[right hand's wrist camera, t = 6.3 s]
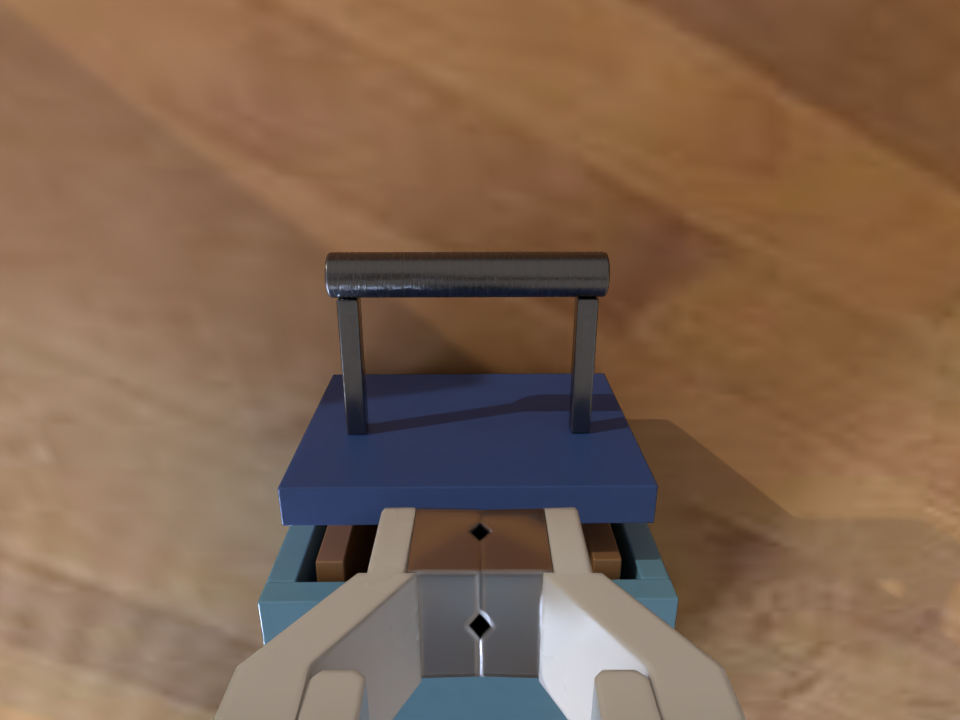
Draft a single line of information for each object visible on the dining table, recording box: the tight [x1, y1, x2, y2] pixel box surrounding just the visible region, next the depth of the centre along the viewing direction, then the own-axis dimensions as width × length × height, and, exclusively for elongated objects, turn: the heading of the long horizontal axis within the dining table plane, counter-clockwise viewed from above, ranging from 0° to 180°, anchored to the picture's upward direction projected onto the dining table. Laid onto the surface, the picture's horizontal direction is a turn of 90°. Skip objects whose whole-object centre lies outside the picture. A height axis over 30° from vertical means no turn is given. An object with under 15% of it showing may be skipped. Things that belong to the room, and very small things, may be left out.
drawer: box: [278, 252, 658, 582], centre depth 24 cm, size 24×10×8 cm, turn 0°
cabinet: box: [258, 523, 678, 720], centre depth 26 cm, size 19×11×10 cm, turn 0°
